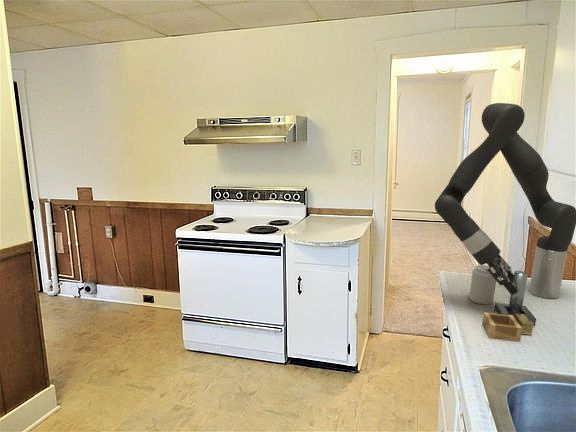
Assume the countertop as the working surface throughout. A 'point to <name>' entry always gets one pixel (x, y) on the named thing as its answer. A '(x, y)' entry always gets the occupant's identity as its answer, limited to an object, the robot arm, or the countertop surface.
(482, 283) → the can
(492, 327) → the brown square frame
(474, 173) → the robot arm
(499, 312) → the socket block
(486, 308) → the countertop surface
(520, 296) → the grey capsule rod
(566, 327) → the countertop surface
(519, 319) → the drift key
